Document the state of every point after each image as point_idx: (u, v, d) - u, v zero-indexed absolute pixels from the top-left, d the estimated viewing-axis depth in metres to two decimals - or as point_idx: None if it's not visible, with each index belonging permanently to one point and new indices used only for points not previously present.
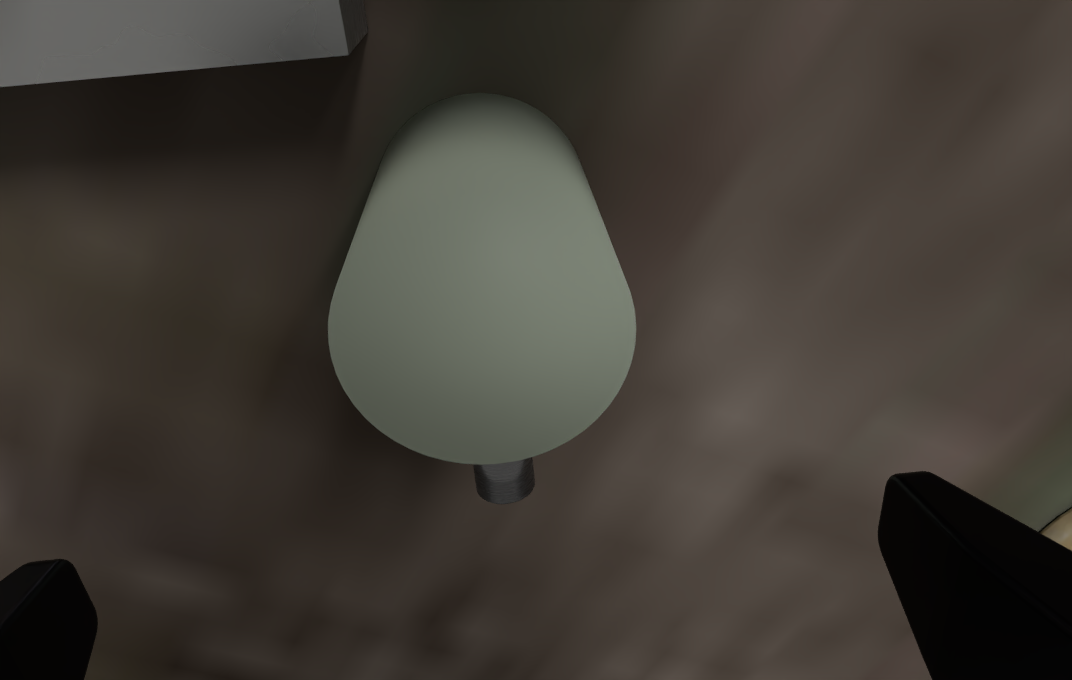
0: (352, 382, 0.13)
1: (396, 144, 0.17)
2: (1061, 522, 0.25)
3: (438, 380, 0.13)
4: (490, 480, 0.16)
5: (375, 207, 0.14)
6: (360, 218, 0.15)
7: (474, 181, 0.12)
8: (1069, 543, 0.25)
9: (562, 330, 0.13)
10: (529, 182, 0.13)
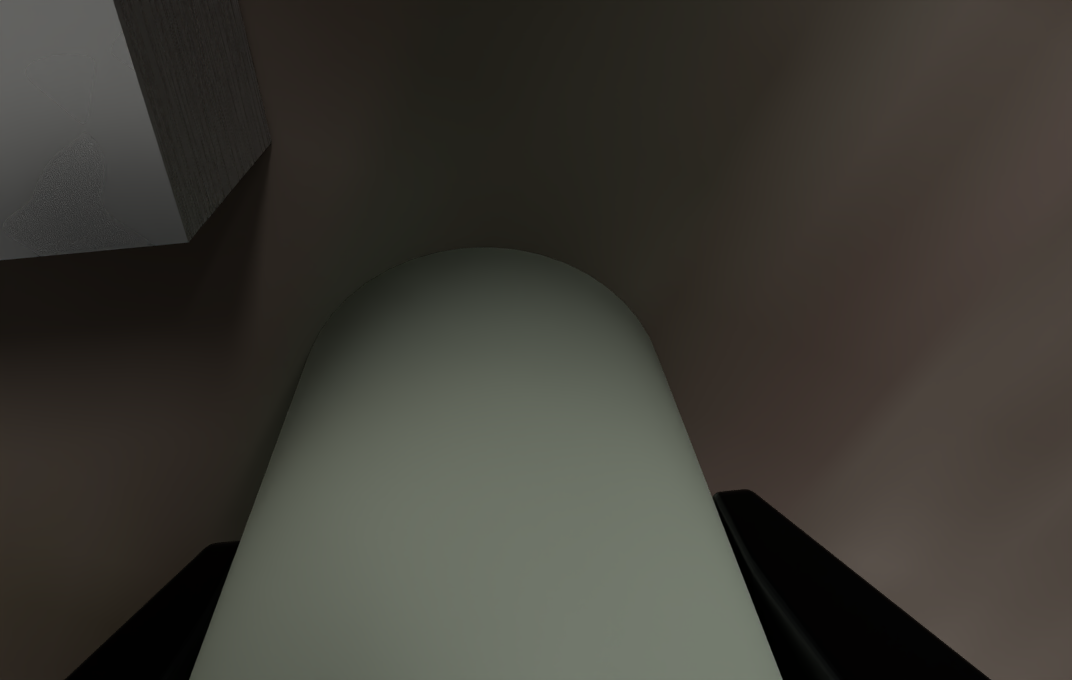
0: None
1: (322, 365, 0.09)
2: None
3: None
4: None
5: (222, 661, 0.05)
6: (223, 586, 0.07)
7: None
8: None
9: None
10: (616, 664, 0.05)
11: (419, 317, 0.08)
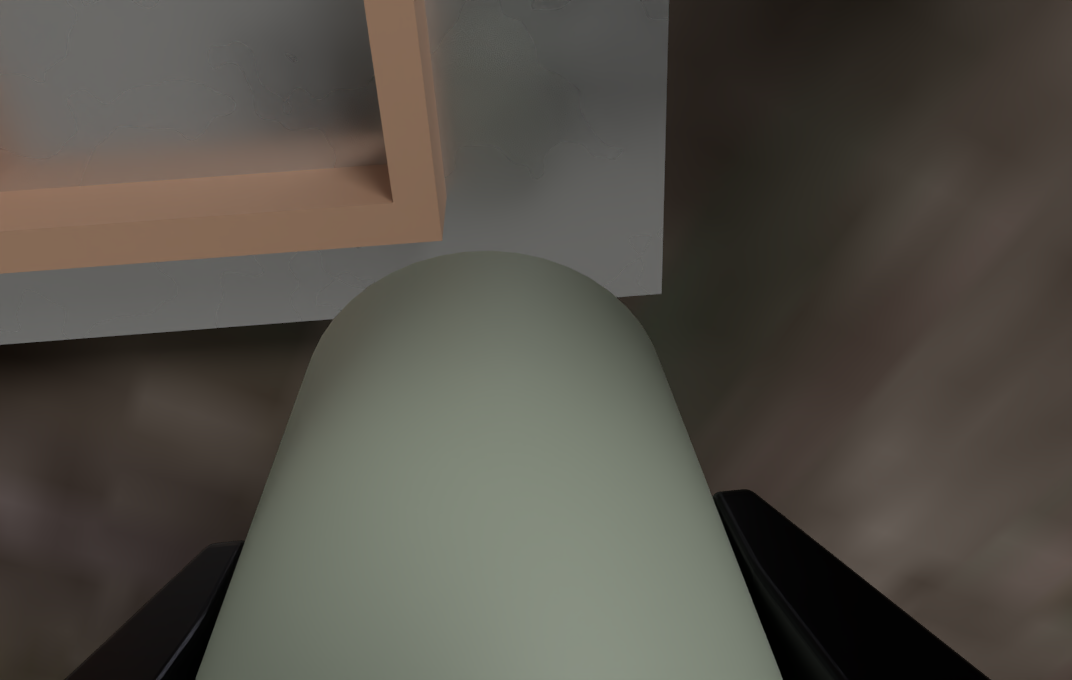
0: None
1: (324, 368, 0.09)
2: None
3: None
4: None
5: (227, 665, 0.05)
6: (227, 590, 0.07)
7: None
8: None
9: None
10: (620, 671, 0.05)
11: (422, 321, 0.08)
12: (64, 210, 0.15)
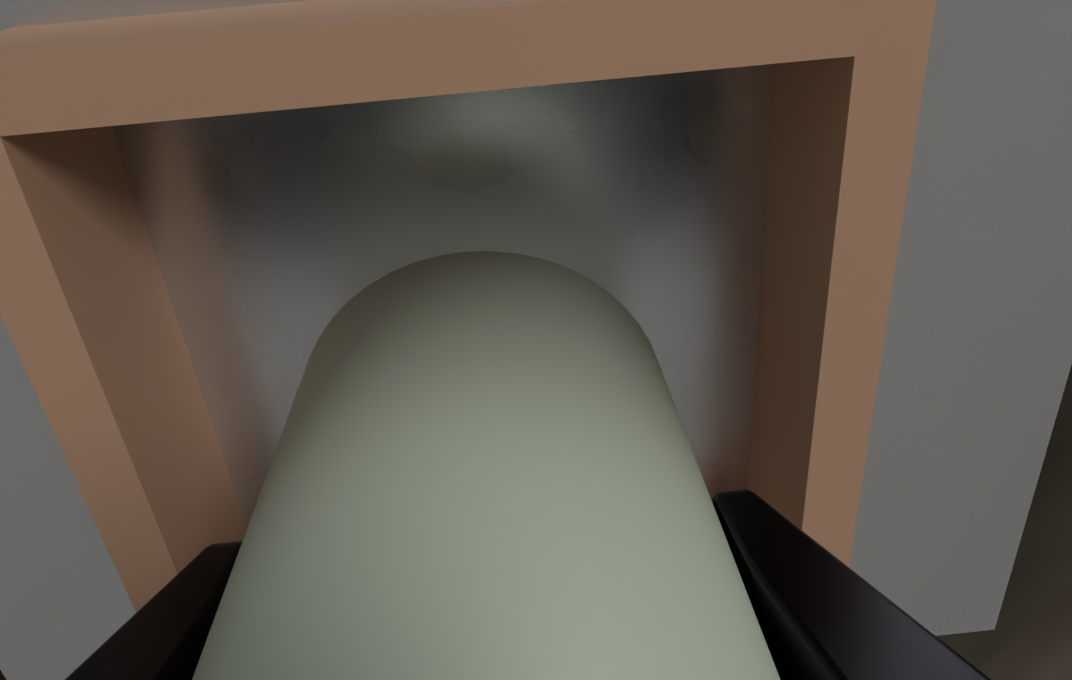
0: None
1: (322, 369, 0.09)
2: None
3: None
4: None
5: (223, 666, 0.05)
6: (224, 590, 0.07)
7: None
8: None
9: None
10: (617, 671, 0.05)
11: (419, 321, 0.08)
12: None
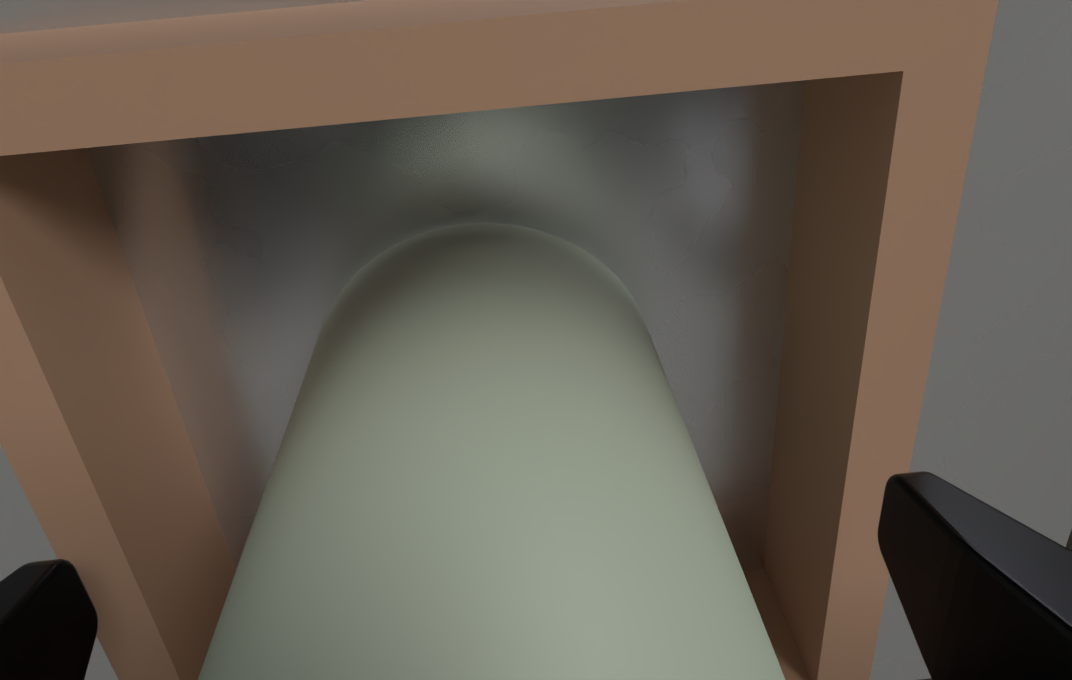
0: None
1: (337, 328, 0.10)
2: None
3: None
4: None
5: (261, 567, 0.06)
6: (254, 518, 0.08)
7: (474, 579, 0.05)
8: None
9: None
10: (602, 557, 0.06)
11: (427, 283, 0.09)
12: None
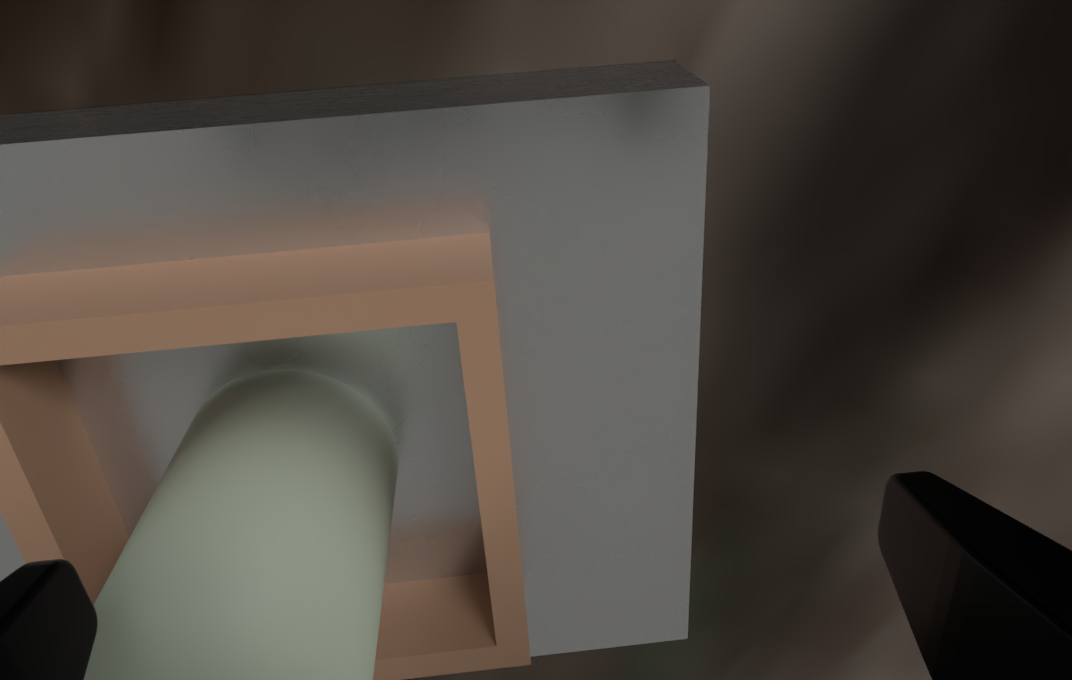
0: None
1: (187, 436, 0.17)
2: None
3: None
4: None
5: (118, 566, 0.14)
6: None
7: (195, 569, 0.13)
8: None
9: None
10: (256, 561, 0.13)
11: (234, 413, 0.17)
12: None
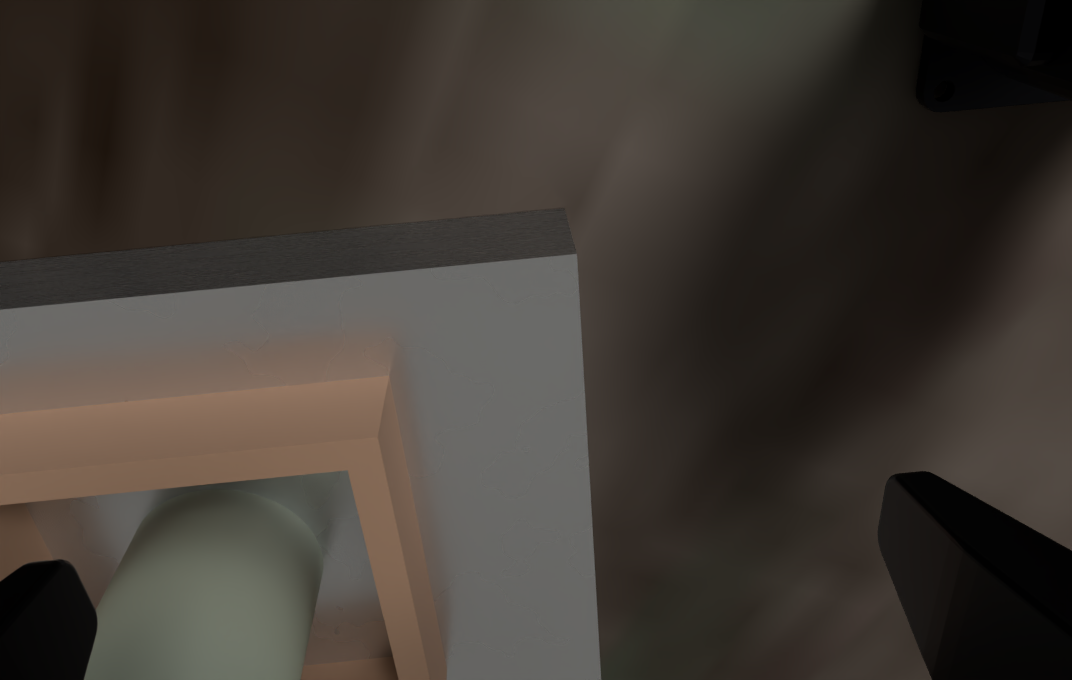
0: None
1: (125, 557, 0.20)
2: None
3: None
4: None
5: None
6: None
7: None
8: None
9: None
10: None
11: (163, 539, 0.19)
12: None
